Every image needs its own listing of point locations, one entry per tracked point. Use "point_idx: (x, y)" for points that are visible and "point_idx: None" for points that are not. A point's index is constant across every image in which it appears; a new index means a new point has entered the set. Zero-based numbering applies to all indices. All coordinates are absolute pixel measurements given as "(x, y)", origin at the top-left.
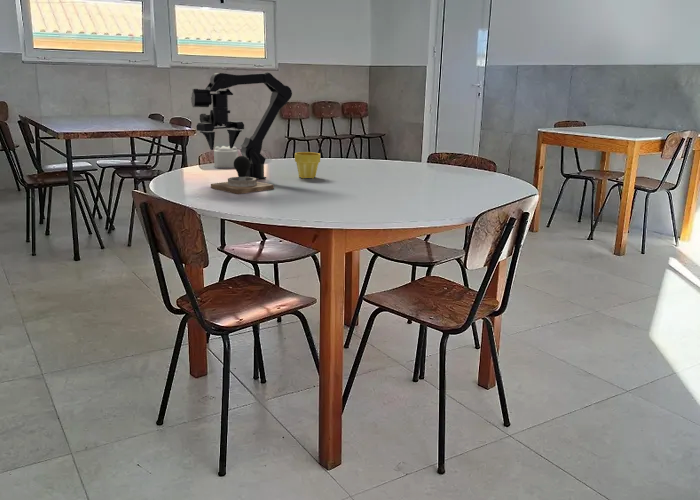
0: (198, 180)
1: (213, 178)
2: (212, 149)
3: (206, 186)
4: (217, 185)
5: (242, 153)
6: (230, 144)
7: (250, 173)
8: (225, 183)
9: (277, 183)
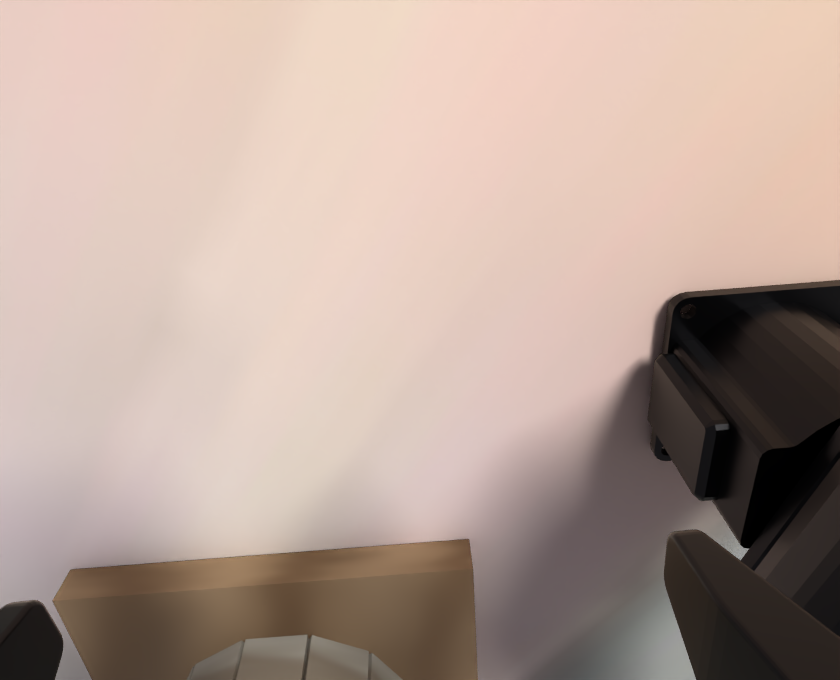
0: (87, 111)
1: (349, 72)
2: (35, 665)
3: (56, 495)
4: (87, 668)
5: (826, 531)
6: (710, 643)
7: (671, 454)
8: (187, 638)
9: (672, 642)
